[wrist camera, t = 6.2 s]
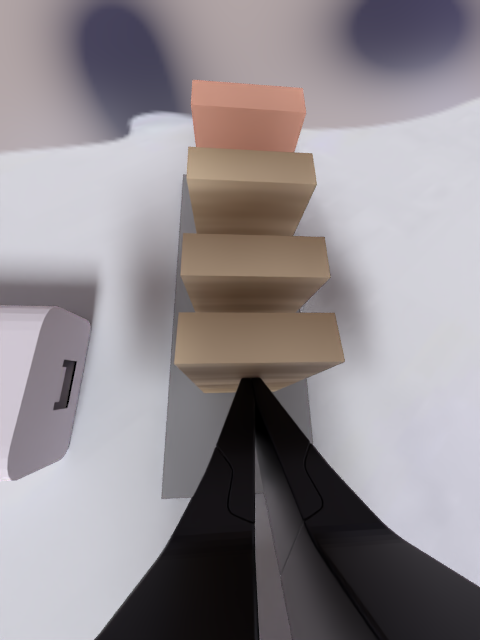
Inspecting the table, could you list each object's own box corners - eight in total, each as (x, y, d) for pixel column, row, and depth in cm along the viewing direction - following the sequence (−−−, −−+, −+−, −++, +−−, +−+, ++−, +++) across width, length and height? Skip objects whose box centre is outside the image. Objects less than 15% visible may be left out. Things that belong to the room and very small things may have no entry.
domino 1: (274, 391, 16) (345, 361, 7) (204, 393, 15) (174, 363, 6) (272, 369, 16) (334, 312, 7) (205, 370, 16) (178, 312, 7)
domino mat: (314, 486, 15) (317, 490, 14) (163, 494, 14) (161, 499, 14) (285, 184, 22) (286, 179, 22) (184, 180, 21) (183, 174, 21)
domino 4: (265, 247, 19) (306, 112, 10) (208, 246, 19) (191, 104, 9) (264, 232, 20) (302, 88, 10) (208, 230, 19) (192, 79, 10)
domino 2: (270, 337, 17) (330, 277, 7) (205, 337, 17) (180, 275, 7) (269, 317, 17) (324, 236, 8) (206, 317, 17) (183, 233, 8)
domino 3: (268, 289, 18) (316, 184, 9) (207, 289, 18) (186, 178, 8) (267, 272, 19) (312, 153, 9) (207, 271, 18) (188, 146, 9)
